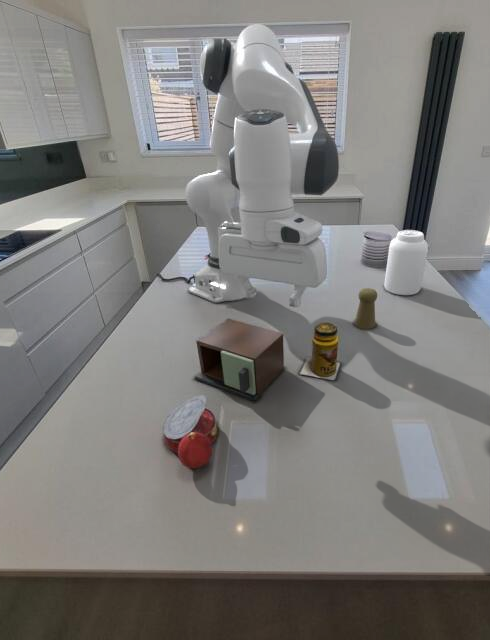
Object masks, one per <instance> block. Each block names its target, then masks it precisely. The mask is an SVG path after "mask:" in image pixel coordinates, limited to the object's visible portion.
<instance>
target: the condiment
mask: <svg viewBox="0 0 490 640" xmlns="http://www.w3.org/2000/svg"><path fill="white" fill-rule="evenodd" d="M338 349H339V337H338V327H337V326H336V324H334V323H331V322H320V323H317V324H316V325H315V326H314V329H313V336H312V341H311V357H309V356H307V357H306V360H305V362H304V364H303V367H302V368H301V371H300V372H299V375H304V376H309V377H315V378H319V379H323V380H324V379H325V380H329V381H335V380H336V378H337V374H338V371H339V368H340V365H341V362H338Z"/></svg>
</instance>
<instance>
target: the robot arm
mask: <svg viewBox="0 0 490 640" xmlns="http://www.w3.org/2000/svg"><path fill="white" fill-rule="evenodd" d="M284 55H285V54H284V52H283V49H282V46H281V44H280V41H279V40H278V37H277V35H276V34H275V33H274V31H273V30H272V29H271V28H269V27H268V26H266V25H265V24H261V23H255V24H254V23H253V24H250V25H248V26H246V27H245V28H244V29H243V30H241V32H240V34H239V35H238V37H237V40H236V42H233V41H229V39H227V38H217V37H216V38H211V39H210V40H207V42H206V44H205V46H204V48H203V49H202V52H201V54H200V59H199V73H200V77H201V83H202V85H203V87H204V88H205V89H206V90H207V91H209V92H210V93H212V94H214V95H218V97H217V100H216V105H215V109H214V115H213V122H212V127H211V135H210V140H209V141H210V142H209V148H210V151H211V152H212V154H213V156H215V157H216V165H217V167H216V170H215V172H211V173H206V174H200V175H198V176H197V177H195V178H194V179H192V180H190V181H189V182H188V183H187V184H186V186H185V190H184V196H185V197H184V198H185V201H186V204H187V206H188V207H189V208H190V209H189V210H191V211H192V212H193V213H195V214H196V215H197V216H198V217H199V218H200V219H201V221H202V222H203V224H204V227H205V228H206V232H207V237H208V243H209V250H210V252H209V253H208V254H206V255H204V260H207V259H208V260H207V263H206V264H205V265H204V266H203V267H202V268H201V269H199V270H198V271H197V272H196V273H194V274H193V275H192V276H190V277H189V278H187V277H185V276H177V277H173V278H165V277H163V276H162V274H161V273H160V272H158V273H157V274H156V277H159V278H160V279H161V280H163V281H165V282H170V281H171V282H172V281H176V280H182V279H183V280H185V281H186V283H191V281H192V280H193V283H194V284H192V285H191V286H190V287H189V289H188V292H189V293H190V294H193V295H195V296H198V297H200V298H202V299H205V300H208V301H209V302H212V303H216V304H217V303H221V302H228V301H229V302H230V301H231V302H232V301H238V300H242V299H248V300H249V299H250V300H254V299H256V297H257V287H254V286H253V285H252V284H251V281H250V279H256V280H263V281H267V282H268V281H269V282H275V283H279V284H280V283H281V284H287V285H294V286H293V287H294V288H293V289H294V291H296V293H293V294H292V295H291V296H290V297H288V298H289V299H288V300H289V307H293V308H299V307H301V305H302V296H303V294H304V293H305V291H306V289H307V288H311V289H313V288H315V289H316V288H318V287H319V286H321V285H322V284H323V283H324V282H325V281H326V279H327V276H328V260H327V251H326V246H325V244H324V241H323V240H322V239H321V238H320V236H322V233H323V225H322V223H321V222H320V221H317V220H315V219H312V218H310V217H308V216H306V215H303V214H301V213H299V212H298V211H296V210H295V205H294V199H293V196H292V195H305V196H323V195H324V194H325V193H327V192H328V191H329V190H330V189H331V188H332V187H333V186H334V185H335V183H337V181H338V177H339V171H340V155H339V151H338V147H337V144H336V141H335V140H334V138H333V136H332V135H331V134H330V132H329V131H328V130H327V128H326V125H325V123H324V121H323V118H322V116H321V113H320V111H319V109H318V107H317V104H316V102H315V100H314V97H313V95H312V94H311V91H310V88H309V87H308V85H307V84H306V82H305V81H304V80H302V79H301V78H299V77H297V76H296V75H295V73H294V70H293V67H292V65H290V63H288V62H286V60H285V56H284ZM289 124H290V125H292V126H294V127H295V128H296V130H297V133H290V131H289ZM235 208H238V210H239V211H238V212H239V221H240V222H238V221H237V222H236V221H234V218H233V215H232V209H235ZM159 275H160V276H159Z"/></svg>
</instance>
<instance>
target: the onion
mask: <svg viewBox="0 0 490 640" xmlns="http://www.w3.org/2000/svg"><path fill="white" fill-rule="evenodd" d="M212 454H213V445H212V443H211V442H210V440H209V438H208V437H207V436H205V435H204V434H203V433H199V432H191V433H189V434H187V435H186V436H185V437H183V439H182V440H181V442H180V443H179V448H178V453H177V456H178V459H179V461H180V462H181V464H182V465H184V466H185V467H186V468H190V469H194V468H195V469H197V468H199V467H203V466H204V465H205V464H207V463H208V462H209V460H210V459H211V457H212Z"/></svg>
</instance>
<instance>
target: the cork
mask: <svg viewBox="0 0 490 640" xmlns="http://www.w3.org/2000/svg"><path fill="white" fill-rule="evenodd" d="M377 299H378V292H377V291H376V289H374V288H371V287H364V288H361V289H360V290H359V292H358V300H359V302H358V303H359V304H358V307H357V311H356V315H355V320H354V326H355V327H356V328H358V329H361V330H370V329H373V328H375V327H376V306H375V303H376V301H377Z"/></svg>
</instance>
